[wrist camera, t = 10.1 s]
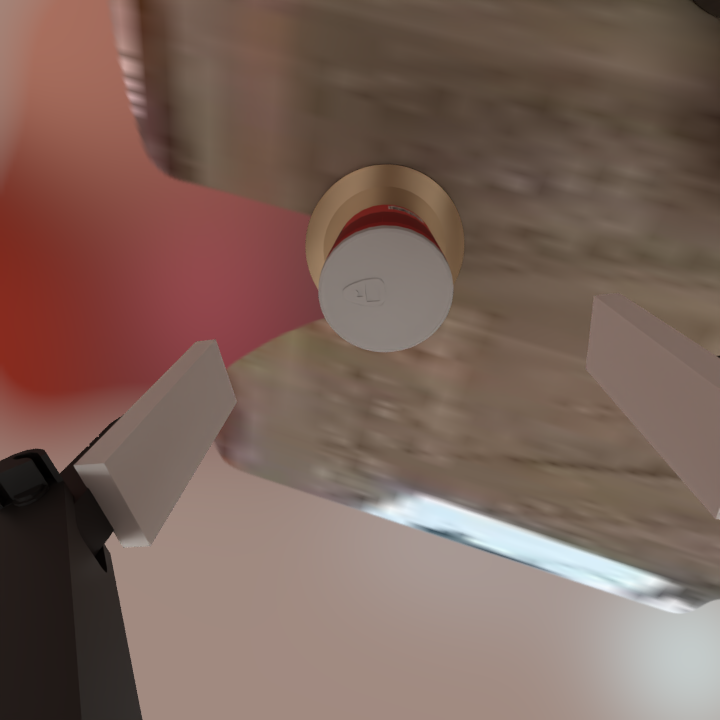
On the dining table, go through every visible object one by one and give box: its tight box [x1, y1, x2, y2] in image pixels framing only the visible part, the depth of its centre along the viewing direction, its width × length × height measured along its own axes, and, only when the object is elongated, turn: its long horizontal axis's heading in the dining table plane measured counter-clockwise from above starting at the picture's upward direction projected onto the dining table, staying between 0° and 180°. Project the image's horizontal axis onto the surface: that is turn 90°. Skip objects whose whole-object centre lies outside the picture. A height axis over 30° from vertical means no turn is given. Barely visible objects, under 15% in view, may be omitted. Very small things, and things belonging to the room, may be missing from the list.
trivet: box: [306, 164, 464, 290], centre depth 34 cm, size 13×13×1 cm
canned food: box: [319, 205, 453, 352], centre depth 29 cm, size 8×8×11 cm
